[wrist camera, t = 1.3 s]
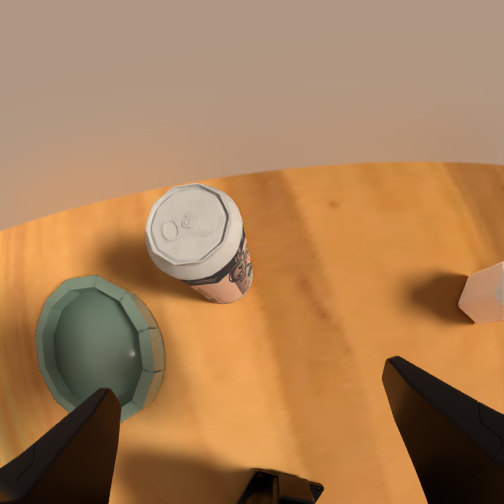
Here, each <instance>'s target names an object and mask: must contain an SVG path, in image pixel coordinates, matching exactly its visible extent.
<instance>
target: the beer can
mask: <svg viewBox="0 0 504 504" xmlns="http://www.w3.org/2000/svg"><path fill="white" fill-rule="evenodd" d="M145 229H146V233H145V242H146V247H147V251H148V253H149V255H150V257H151V259H152V261H153V262H154V264H155V265H156V266H157V267H158V268H159V269H160V270H161V271H162V272H164V273H166V274H168V275H170V276H172V277H174V278H177V279H179V280H180V281H182V282H183V283H185V284H186V285H188V286H190V287H191V288H193V289H194V290H196V291H197V292H199V293H201V294H202V295H203V296H204V297H206V298H207V299H208V300H210V301H212V302H215V303H219V304H227V303H232V302H235V301H237V300H239V299H240V298H242V297H243V296H244V295H245V294H246V293H247V291H248V290H249V288H250V286H251V283H252V279H253V269H252V265H251V260H250V255H249V251H248V246H247V241H246V237H245V232H244V228H243V223H242V218H241V216H240V213H239V210H238V208H237V206H236V205H235V203H234V201H233V200H232V199H231V198H230V197H229V196H228V195H226V194H225V193H224V192H222V191H220V190H218V189H216V188H214V187H211V186H207V185H202V184H200V183H194V184H188V185H182V186H176V187H173V188H171V189H170V190H169V191H168V192H167V193H165V194H164V195H163V196H162V197H161V198H160V199H158V200H157V201H156V202H155V203H154V204H153V206H152V209H151V212H150V215H149V218H148V221H147V224H146V228H145Z"/></svg>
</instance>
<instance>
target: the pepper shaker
mask: <svg viewBox="0 0 504 504" xmlns="http://www.w3.org/2000/svg"><path fill="white" fill-rule="evenodd" d="M458 306H459V308H460V309H461V310H462V311H463V312H464V313H466V314H467V315H468V316H469V317H470V318H471V319H472V320H473V321H474V322H475V323H477V324H483V323H490V322H497V321H503V320H504V261H502V262H500V263H498V264H495V265H493V266H491V267H488V268H486V269H483V270H481V271H478V272H476V273H473V274H471V275H470V276H469V277H468V279H467V281H466V284H465V287H464V289H463V292H462V294H461V297H460V299H459V302H458Z"/></svg>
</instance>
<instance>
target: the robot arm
mask: <svg viewBox="0 0 504 504" xmlns="http://www.w3.org/2000/svg"><path fill="white" fill-rule="evenodd" d="M382 382H383V385H384V388H385V391H386V394H387V398H388V401H389V404H390V407H391V411H392V414H393V417H394V420H395V422H396V425H397V427H398V429H399V432H400V434H401V436H402V439H403V441H404V443H405V446H406V448H407V451H408V453H409V455H410V458H411V460H412V463H413V465H414V468H415V470H416V473H417V475H418V478H419V481H420V483H421V486H422V488H423V491H424V494H425V497H426V499H427V502H428V504H504V414H502V413H500V412H497V411H495V410H494V409H492V408H490V407H488V406H486V405H484V404H482V403H481V402H478V401H477V400H475V399H473V398H471V397H470V396H468V395H466V394H464V393H463V392H461V391H459V390H457V389H456V388H454V387H452V386H450V385H448V384H447V383H445V382H443V381H441V380H440V379H438V378H436V377H434V376H433V375H431V374H429V373H428V372H426V371H424V370H422V369H421V368H419V367H417V366H415V365H414V364H412V363H410V362H409V361H407V360H405V359H403V358H402V357H400V356H394V357H391V358H388V359H387V360H386V362H385V366H384V370H383V374H382ZM121 410H122V408H121V404H120V402H119V400H118V398H117V397H116V395H115V394H114V392H113V390H112V389H110V388H99V389H97V390H96V391H95V392H94V393H93V394H92V395H90V396H89V397H88V398H87V399H86V400H85V401H83V402H82V403H81V404H80V405H79V406H77V407H76V408H75V409H74V410H73V411H72V412H70V413H69V414H68V415H67V416H66V417H64V418H63V419H62V420H61V421H60V422H59V423H57V424H56V425H55V426H54V427H53V428H51V429H50V430H49V431H48V432H47V433H46V434H44V435H43V436H42V437H41V438H40V439H38V440H37V441H36V442H35V443H34V444H32V445H31V446H30V447H29V448H28V449H26V450H25V451H24V452H23V453H21V454H20V455H19V456H17V457H16V458H15V459H13V460H12V461H10V462H9V463H7V464H6V465H4V466H3V467H1V468H0V504H109V497H110V490H111V483H112V477H113V471H114V465H115V460H116V454H117V449H118V442H119V430H120V420H121ZM258 473H261V474H262V475H261V476H259V475H257V474H258ZM316 488H320V489H318V490H316ZM323 490H324V487H323V485H322V484H319V483H314V482H309V481H308V480H307V479H303V478H299V477H294V476H290V475H286V474H276V473H273V472H269V471H266V470H263V469H257V470H255V472H254V473H253V475H252V477H251V479H250V481H249V482H248V484H247V486H246V488H245V490H244V491H243V493H242V495H241V497H240V498H239V500H238V502H237V503H236V504H315V503H316V501H317V500H318V498H319V497H320V495H321V494H322V492H323Z"/></svg>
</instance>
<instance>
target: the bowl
mask: <svg viewBox="0 0 504 504" xmlns="http://www.w3.org/2000/svg"><path fill="white" fill-rule="evenodd" d="M36 333H37V334H36V347H37V357H38V365H39V368H41V369H39V370H40V372H41V374H42V376H43V378H44V380H45V382H46V384H47V386H48V388H49V390H50V392H51V394H52V396H53V397H54V399H55V400H56V402H57V403H58V404H60V405H61V406H62V407H63V408H64V409H66V410H67V411H68V412H69V413H70V412H72V411H73V410H74V409H75V408H76V407H77V406H79V405H80V404H81V403H82V402H83V401H85V400H86V399H87V398H88V397H89V396H90V395H92V394H93V393H94V392H95V391H96V390H97V389H99V388H110V389H112V390H113V392H114V394H115V395H116V397H117V398H118V400H119V402H120V404H121V408H122V410H121V420H120V423H122V422H124V421H126V420H127V419H129V418H130V417H132V416H134V415H135V414H137V413H139V412H140V411H142V410H143V409H145V408H146V407H148V406H149V404H151V402H152V401H153V399H154V398H155V396H156V395H157V393H158V391H159V389H160V387H161V384H162V381H163V377H164V371H165V348H164V342H163V338H162V334H161V331H160V328H159V326H158V324H157V321H156V319H155V318H154V316H153V314H152V312H151V311H150V310H149V308H148V307H147V306H146V304H145V303H144V302H143V301H142V300H141V299H140V298H139V297H138V296H137V295H136V294H134V293H133V292H131V291H129V290H128V289H126V288H124V287H121V286H119V285H117V284H115V283H113V282H111V281H110V280H108V279H105V278H103V277H100V276H98V275H92V276H86V277H79V278H73V279H68V280H66V281H65V282H64V283H63V284H62V285H61V286H60V287H59V288H58V289H57V290H56V291H55V292H54V293H53V294H52V295H51V296H50V297H49V298H48V299H47V300H46V302H45V304H44V307H43V310H42V313H41V316H40V319H39V323H38V326H37V329H36Z"/></svg>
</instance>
